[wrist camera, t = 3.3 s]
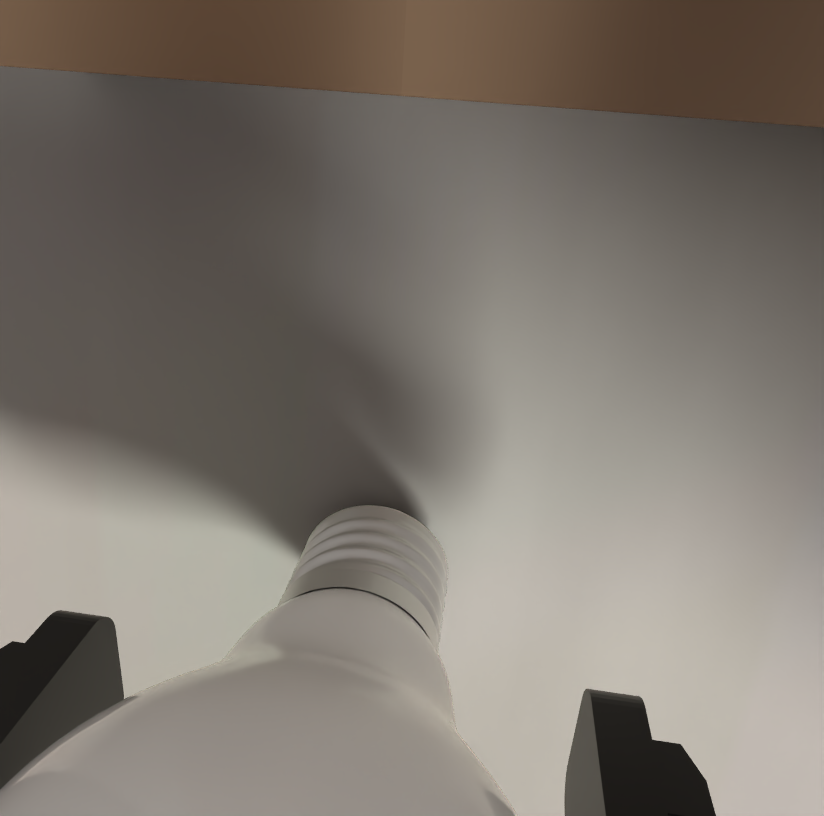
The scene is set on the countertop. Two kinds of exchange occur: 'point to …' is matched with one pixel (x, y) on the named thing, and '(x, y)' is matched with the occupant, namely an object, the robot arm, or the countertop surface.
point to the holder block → (455, 49)
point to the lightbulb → (293, 705)
